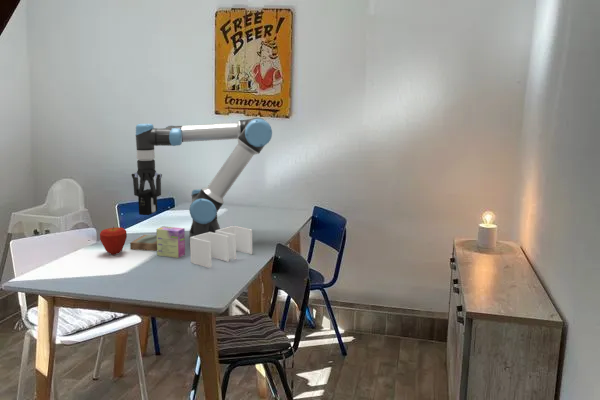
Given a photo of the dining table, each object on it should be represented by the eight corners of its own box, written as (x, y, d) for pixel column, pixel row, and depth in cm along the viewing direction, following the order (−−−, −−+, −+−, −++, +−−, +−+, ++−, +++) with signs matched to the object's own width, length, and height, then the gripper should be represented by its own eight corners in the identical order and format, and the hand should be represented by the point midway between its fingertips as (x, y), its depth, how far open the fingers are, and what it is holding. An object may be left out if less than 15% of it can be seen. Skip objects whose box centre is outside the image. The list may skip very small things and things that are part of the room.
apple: (120, 248, 257) (118, 222, 255) (132, 253, 249) (131, 226, 247) (96, 253, 249) (94, 226, 247) (108, 259, 242) (106, 230, 239)
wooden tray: (168, 242, 267) (168, 235, 267) (156, 250, 254) (155, 243, 253) (144, 241, 269) (144, 234, 269) (130, 249, 256) (130, 242, 255)
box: (185, 254, 249) (184, 227, 246) (178, 258, 243) (177, 231, 241) (164, 252, 252) (163, 225, 250) (157, 255, 247) (155, 228, 244)
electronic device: (138, 215, 254) (137, 192, 252) (149, 210, 264) (148, 188, 262) (147, 215, 253) (146, 193, 251) (157, 210, 263) (156, 189, 261)
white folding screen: (234, 249, 257) (233, 225, 255) (252, 254, 250) (252, 229, 248) (190, 263, 237) (190, 237, 235) (209, 268, 231) (208, 241, 229)
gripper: (168, 158, 256) (170, 210, 261) (131, 157, 259) (134, 209, 264) (161, 161, 249) (163, 214, 253) (123, 159, 252) (126, 212, 256)
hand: (148, 211), depth 259 cm, fingers closed on electronic device, 4 cm apart
